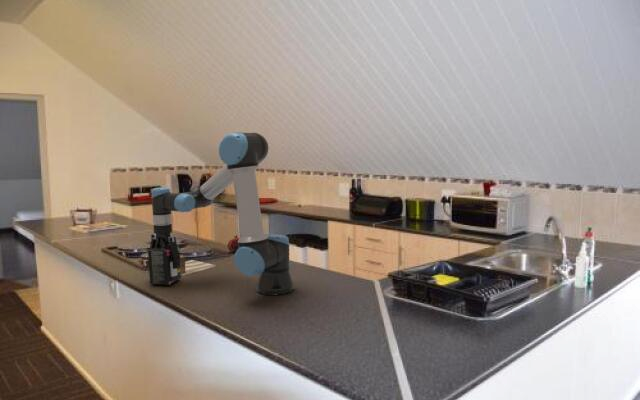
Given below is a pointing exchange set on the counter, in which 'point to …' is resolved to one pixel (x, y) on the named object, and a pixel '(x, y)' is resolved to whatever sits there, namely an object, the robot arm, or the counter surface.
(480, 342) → the counter surface
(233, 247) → the fruit
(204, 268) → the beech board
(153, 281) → the tampon box
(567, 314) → the counter surface
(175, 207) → the robot arm
